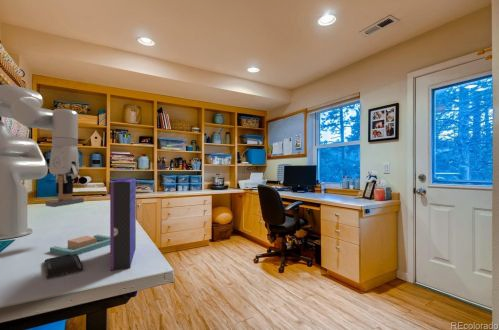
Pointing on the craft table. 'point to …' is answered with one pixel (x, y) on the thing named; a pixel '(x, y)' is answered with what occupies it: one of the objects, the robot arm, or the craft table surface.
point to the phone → (62, 266)
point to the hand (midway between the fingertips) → (64, 192)
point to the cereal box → (122, 223)
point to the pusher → (63, 196)
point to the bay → (63, 251)
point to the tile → (81, 242)
